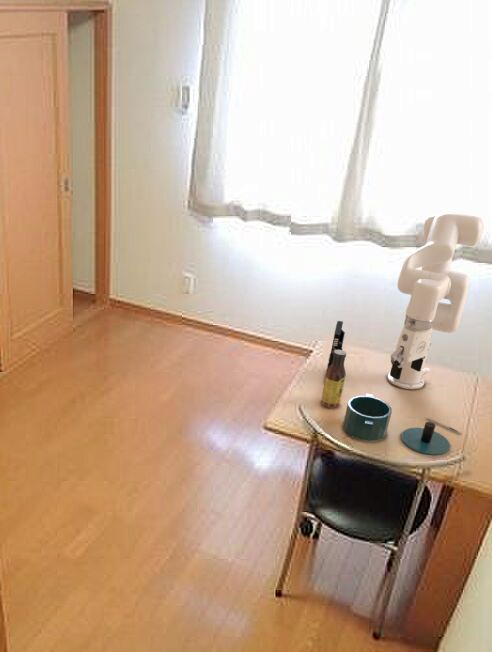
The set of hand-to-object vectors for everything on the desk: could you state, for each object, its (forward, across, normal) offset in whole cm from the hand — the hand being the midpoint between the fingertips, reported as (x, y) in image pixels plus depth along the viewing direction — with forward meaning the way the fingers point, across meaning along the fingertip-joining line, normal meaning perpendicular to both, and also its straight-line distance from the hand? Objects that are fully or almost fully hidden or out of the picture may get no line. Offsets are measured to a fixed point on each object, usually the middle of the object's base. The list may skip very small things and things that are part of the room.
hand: (405, 373), depth 197 cm
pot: (+22, -5, +6) cm, 23 cm away
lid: (+22, +5, -9) cm, 24 cm away
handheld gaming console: (+22, +12, +35) cm, 43 cm away
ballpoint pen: (+22, +19, -6) cm, 30 cm away
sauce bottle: (+22, -3, +22) cm, 32 cm away
